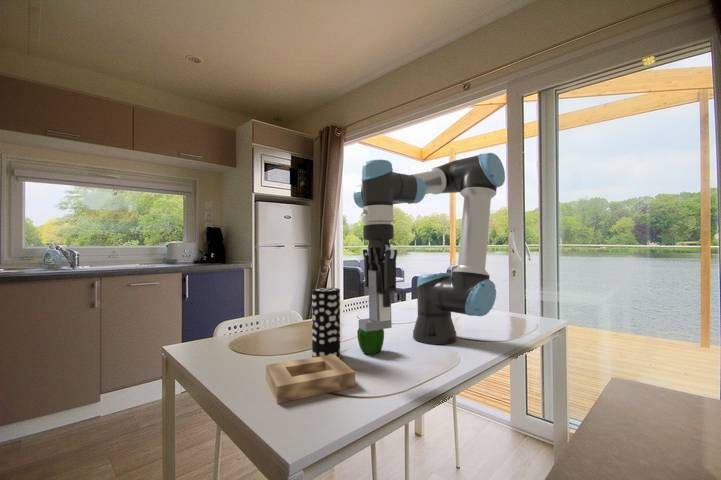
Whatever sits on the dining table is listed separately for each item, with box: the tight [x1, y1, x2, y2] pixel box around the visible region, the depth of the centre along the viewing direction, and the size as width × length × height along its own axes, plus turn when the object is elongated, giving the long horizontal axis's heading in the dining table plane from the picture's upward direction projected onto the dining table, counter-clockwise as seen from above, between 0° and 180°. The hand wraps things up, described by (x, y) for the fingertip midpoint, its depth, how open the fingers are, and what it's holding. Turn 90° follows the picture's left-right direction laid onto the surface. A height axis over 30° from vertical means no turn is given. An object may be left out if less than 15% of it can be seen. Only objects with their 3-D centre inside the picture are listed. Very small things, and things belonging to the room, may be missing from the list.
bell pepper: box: [357, 327, 385, 355], centre depth 101 cm, size 8×8×10 cm
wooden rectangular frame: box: [265, 354, 356, 404], centre depth 78 cm, size 18×14×4 cm
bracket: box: [358, 270, 392, 332], centre depth 80 cm, size 7×4×14 cm, turn 116°
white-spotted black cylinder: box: [311, 287, 341, 359], centre depth 97 cm, size 8×8×20 cm
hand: (380, 318), depth 80 cm, fingers closed on bracket, 4 cm apart
